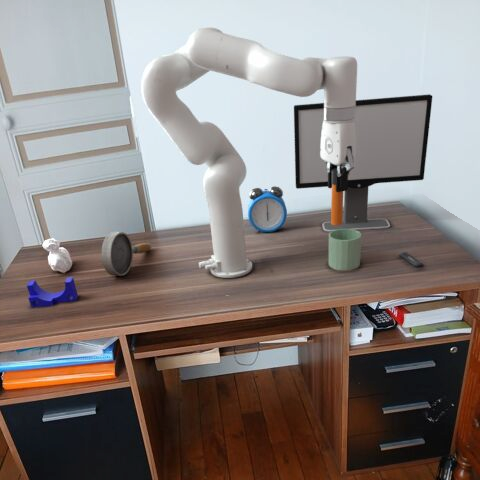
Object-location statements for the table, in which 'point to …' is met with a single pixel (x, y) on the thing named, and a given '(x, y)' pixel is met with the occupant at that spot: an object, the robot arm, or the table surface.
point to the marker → (336, 202)
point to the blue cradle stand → (51, 294)
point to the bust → (57, 256)
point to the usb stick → (411, 260)
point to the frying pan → (120, 253)
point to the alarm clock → (267, 209)
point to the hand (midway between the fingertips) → (337, 188)
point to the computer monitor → (366, 151)
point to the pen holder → (344, 249)
